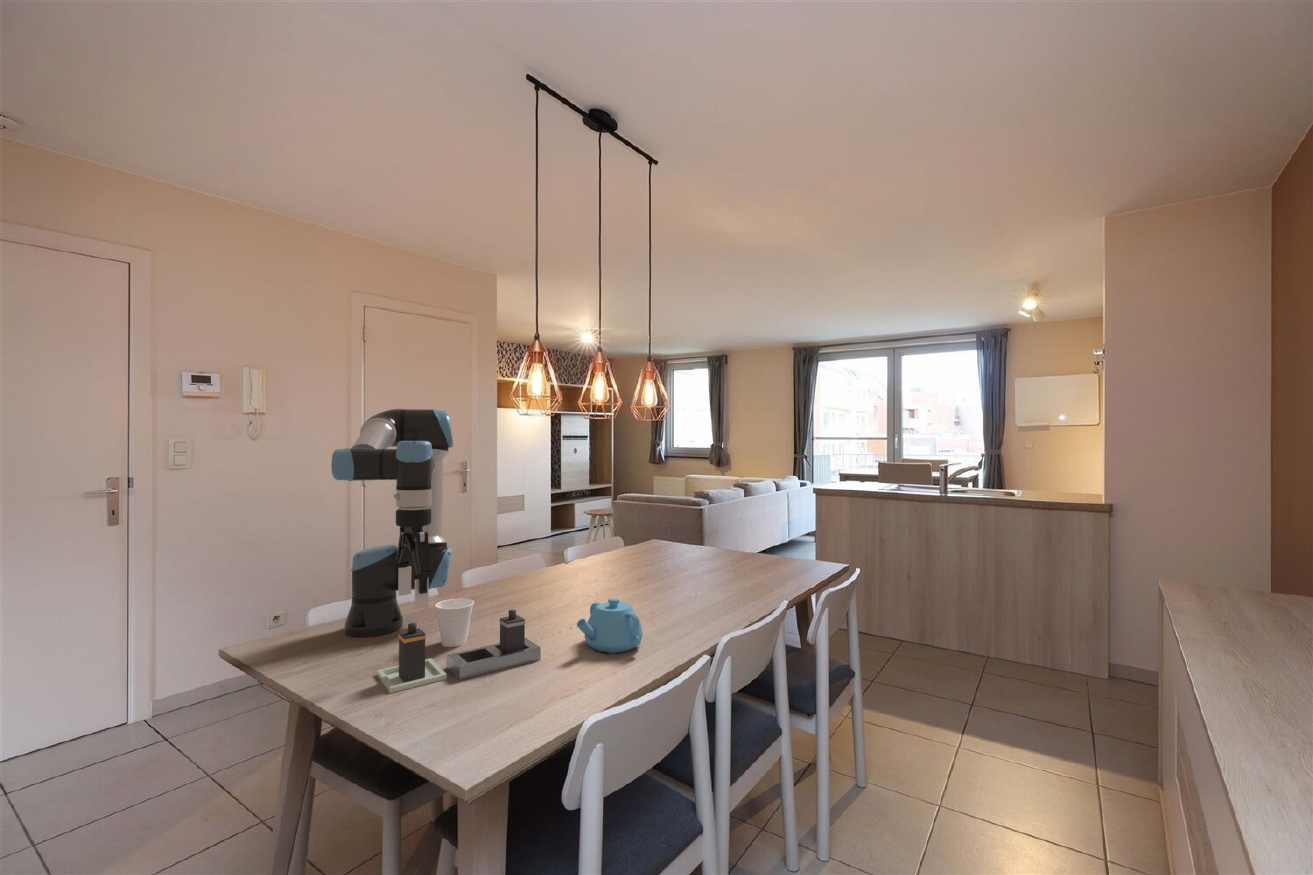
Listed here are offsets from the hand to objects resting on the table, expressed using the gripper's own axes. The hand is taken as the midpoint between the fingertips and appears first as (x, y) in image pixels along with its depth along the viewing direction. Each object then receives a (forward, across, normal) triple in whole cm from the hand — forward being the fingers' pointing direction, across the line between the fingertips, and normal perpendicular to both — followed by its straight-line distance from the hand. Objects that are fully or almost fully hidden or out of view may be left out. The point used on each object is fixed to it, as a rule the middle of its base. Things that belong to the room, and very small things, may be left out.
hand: (412, 601), depth 129 cm
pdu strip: (+18, +4, +18) cm, 26 cm away
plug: (+17, 0, 0) cm, 17 cm away
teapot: (+18, +11, +46) cm, 51 cm away
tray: (+18, 0, 0) cm, 18 cm away
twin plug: (+17, +4, +22) cm, 29 cm away
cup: (+18, -16, +15) cm, 28 cm away
